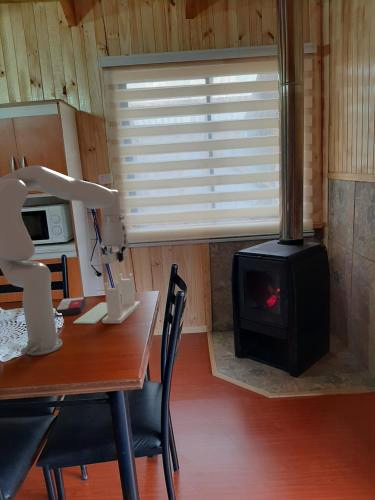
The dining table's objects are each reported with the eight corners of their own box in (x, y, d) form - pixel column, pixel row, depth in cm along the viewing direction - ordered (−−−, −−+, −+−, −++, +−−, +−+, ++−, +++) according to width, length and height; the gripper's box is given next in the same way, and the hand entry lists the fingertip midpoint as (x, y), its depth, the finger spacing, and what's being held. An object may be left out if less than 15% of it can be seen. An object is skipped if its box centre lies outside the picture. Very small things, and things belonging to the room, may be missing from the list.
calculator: (55, 309, 163) (61, 298, 177) (56, 318, 164) (62, 306, 178) (80, 306, 164) (84, 295, 179) (81, 315, 165) (85, 303, 180)
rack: (120, 323, 148) (116, 285, 146) (102, 323, 150) (97, 286, 147) (140, 304, 171) (137, 271, 169) (124, 304, 173) (121, 271, 170)
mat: (94, 324, 150) (94, 322, 150) (73, 323, 152) (72, 322, 152) (119, 303, 175) (119, 302, 175) (101, 303, 177) (100, 302, 177)
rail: (110, 263, 146) (109, 255, 146) (102, 263, 147) (101, 255, 147) (128, 254, 165) (128, 247, 165) (121, 254, 166) (121, 247, 166)
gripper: (133, 217, 155) (137, 259, 158) (98, 219, 159) (102, 260, 162) (127, 219, 148) (131, 263, 151) (90, 221, 152) (94, 263, 155)
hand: (116, 261), depth 156 cm, fingers closed on rail, 3 cm apart
